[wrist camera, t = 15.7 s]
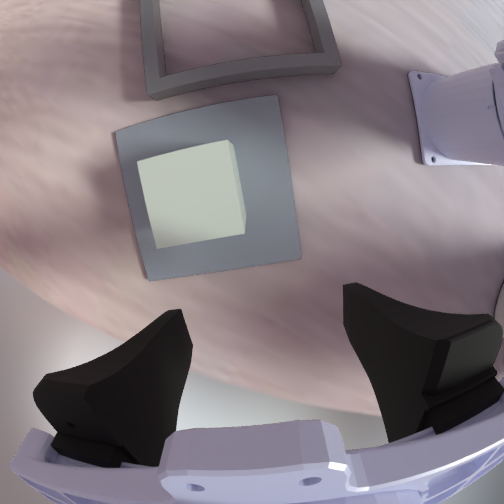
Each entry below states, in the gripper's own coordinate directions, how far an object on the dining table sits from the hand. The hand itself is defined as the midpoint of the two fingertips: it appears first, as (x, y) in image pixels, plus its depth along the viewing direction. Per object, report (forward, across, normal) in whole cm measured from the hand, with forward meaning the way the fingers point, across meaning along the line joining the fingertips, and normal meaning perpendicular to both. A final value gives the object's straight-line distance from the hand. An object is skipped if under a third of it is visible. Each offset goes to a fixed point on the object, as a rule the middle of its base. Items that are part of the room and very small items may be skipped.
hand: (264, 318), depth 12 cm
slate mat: (+9, +3, -5) cm, 11 cm away
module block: (+9, +3, -5) cm, 11 cm away
